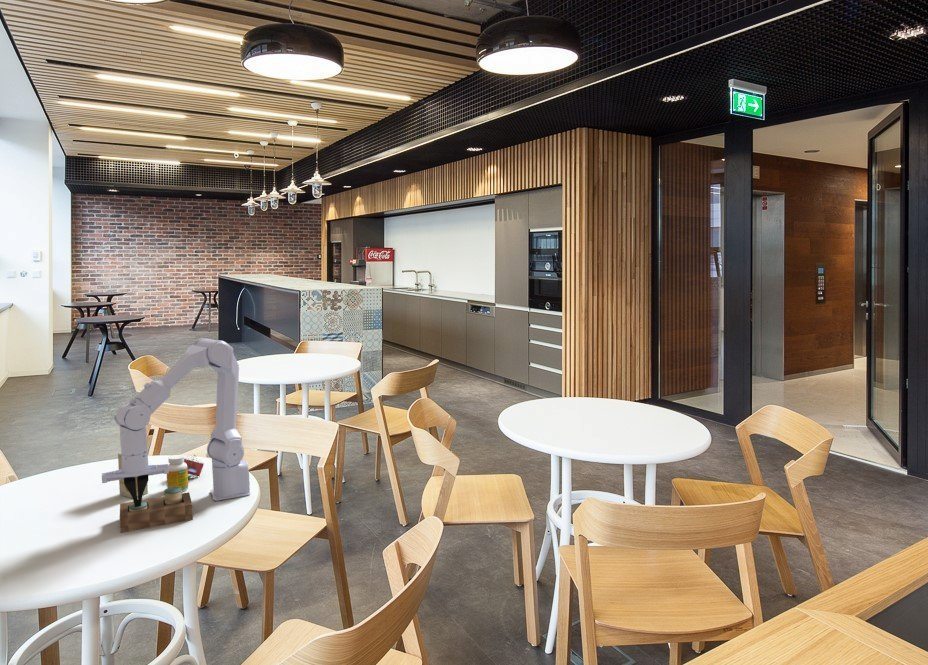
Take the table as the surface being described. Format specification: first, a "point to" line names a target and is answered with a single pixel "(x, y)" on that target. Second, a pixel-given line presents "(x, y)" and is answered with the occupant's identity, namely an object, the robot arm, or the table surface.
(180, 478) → the supplement bottle
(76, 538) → the table surface
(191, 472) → the geometric puzzle
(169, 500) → the peg
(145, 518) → the walnut block
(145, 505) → the peg
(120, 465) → the skincare box
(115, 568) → the table surface
